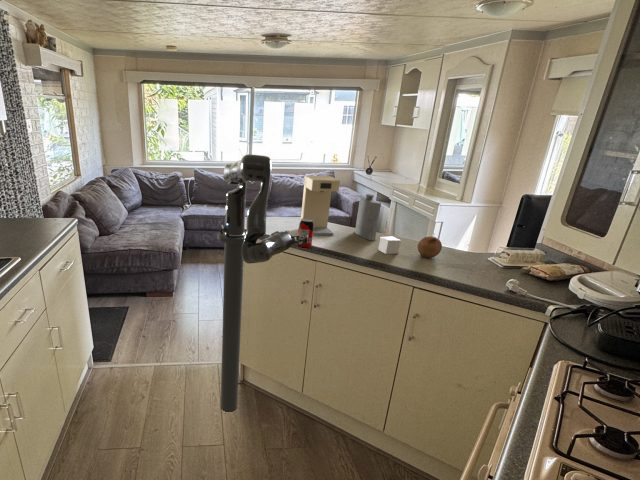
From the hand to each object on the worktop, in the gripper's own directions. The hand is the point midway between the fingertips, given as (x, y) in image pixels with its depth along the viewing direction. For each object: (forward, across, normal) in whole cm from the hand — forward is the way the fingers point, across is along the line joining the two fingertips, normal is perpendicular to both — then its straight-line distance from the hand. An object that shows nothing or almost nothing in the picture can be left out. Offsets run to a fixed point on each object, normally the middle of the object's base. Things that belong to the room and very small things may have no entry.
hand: (296, 234), depth 179 cm
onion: (+31, -47, +8) cm, 57 cm away
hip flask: (+45, -15, +7) cm, 48 cm away
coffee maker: (+37, +7, +7) cm, 39 cm away
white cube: (+27, -32, +8) cm, 42 cm away
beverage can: (+9, 0, +7) cm, 12 cm away
